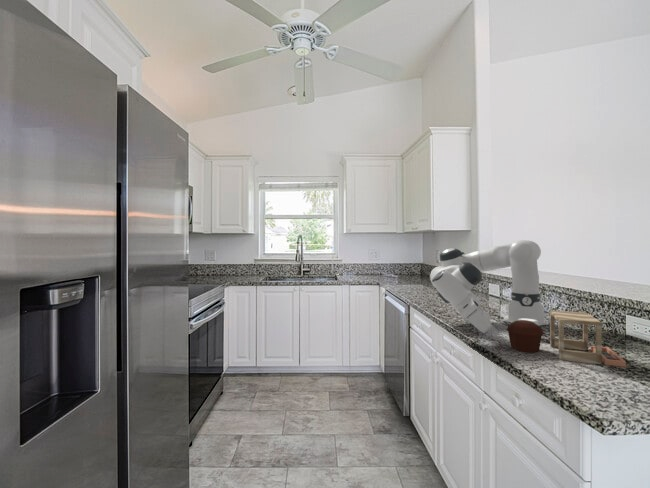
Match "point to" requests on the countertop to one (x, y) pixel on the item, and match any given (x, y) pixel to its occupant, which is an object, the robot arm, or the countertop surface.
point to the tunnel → (576, 344)
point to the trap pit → (610, 357)
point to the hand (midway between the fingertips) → (497, 334)
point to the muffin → (525, 336)
